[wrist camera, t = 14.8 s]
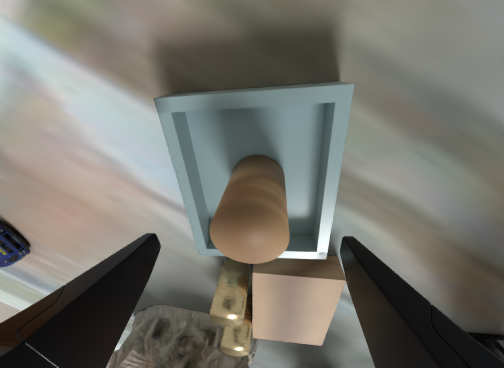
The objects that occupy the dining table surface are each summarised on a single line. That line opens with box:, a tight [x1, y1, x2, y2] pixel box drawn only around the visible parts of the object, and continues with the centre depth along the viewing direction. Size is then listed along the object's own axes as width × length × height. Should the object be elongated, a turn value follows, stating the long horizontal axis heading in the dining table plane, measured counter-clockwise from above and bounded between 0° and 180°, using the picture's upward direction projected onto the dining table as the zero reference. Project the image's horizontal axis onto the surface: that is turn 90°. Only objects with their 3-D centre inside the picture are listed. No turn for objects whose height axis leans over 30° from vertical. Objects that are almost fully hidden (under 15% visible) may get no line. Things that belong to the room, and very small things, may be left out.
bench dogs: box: [209, 258, 253, 357], centre depth 21 cm, size 3×9×5 cm, turn 4°
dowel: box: [210, 155, 290, 264], centre depth 12 cm, size 4×4×6 cm
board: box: [252, 255, 346, 346], centre depth 21 cm, size 8×12×3 cm, turn 1°
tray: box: [154, 82, 355, 259], centre depth 15 cm, size 11×13×2 cm
